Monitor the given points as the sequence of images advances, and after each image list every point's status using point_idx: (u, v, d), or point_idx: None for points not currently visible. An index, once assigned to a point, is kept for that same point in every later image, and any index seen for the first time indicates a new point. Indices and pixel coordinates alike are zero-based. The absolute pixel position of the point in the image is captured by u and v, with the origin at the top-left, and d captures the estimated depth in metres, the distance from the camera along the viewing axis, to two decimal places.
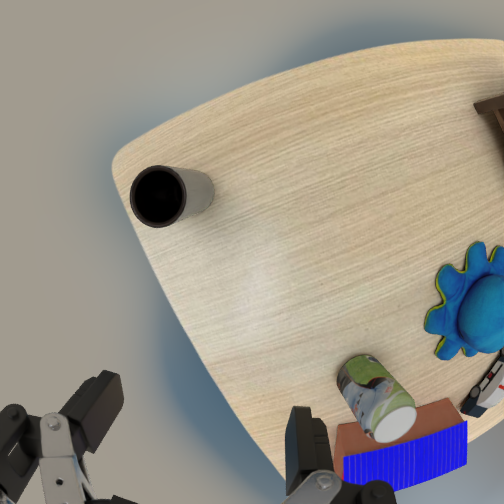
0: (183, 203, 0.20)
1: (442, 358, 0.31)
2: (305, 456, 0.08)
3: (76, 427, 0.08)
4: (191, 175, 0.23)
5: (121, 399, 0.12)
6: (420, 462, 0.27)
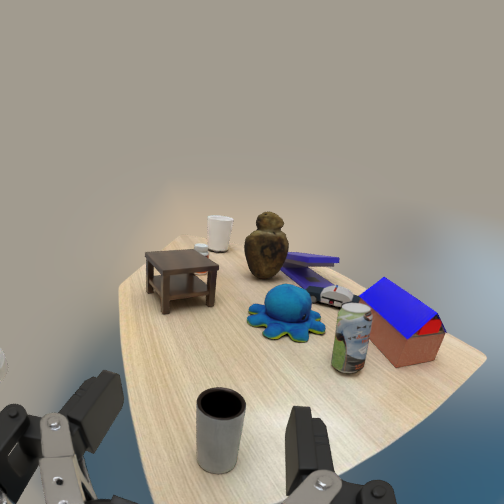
0: (227, 388, 0.26)
1: (323, 327, 0.59)
2: (305, 456, 0.08)
3: (76, 427, 0.08)
4: None
5: (121, 399, 0.12)
6: (392, 300, 0.56)
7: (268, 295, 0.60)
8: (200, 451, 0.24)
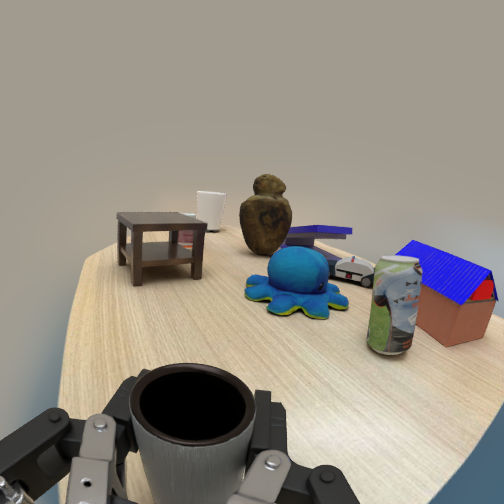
0: (210, 366, 0.11)
1: (346, 301, 0.44)
2: (258, 436, 0.09)
3: (122, 427, 0.09)
4: None
5: None
6: (429, 263, 0.42)
7: (272, 258, 0.45)
8: (156, 501, 0.09)
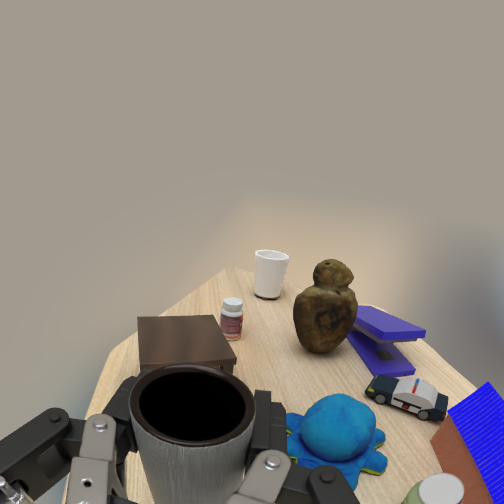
0: (210, 367, 0.11)
1: (384, 465, 0.27)
2: (258, 436, 0.09)
3: (122, 427, 0.09)
4: None
5: None
6: (493, 431, 0.21)
7: (307, 418, 0.31)
8: (156, 501, 0.09)
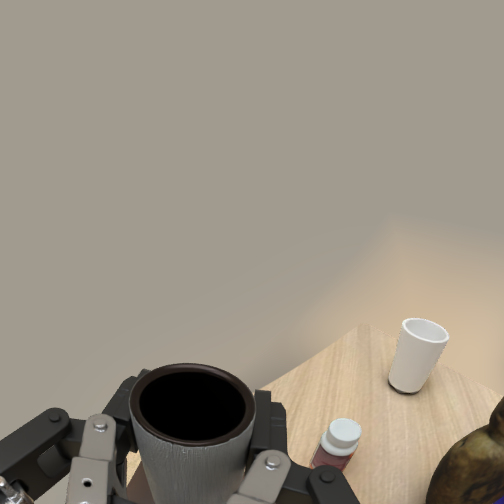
0: (210, 366, 0.11)
1: None
2: (258, 436, 0.09)
3: (122, 427, 0.09)
4: None
5: None
6: None
7: None
8: (156, 501, 0.09)
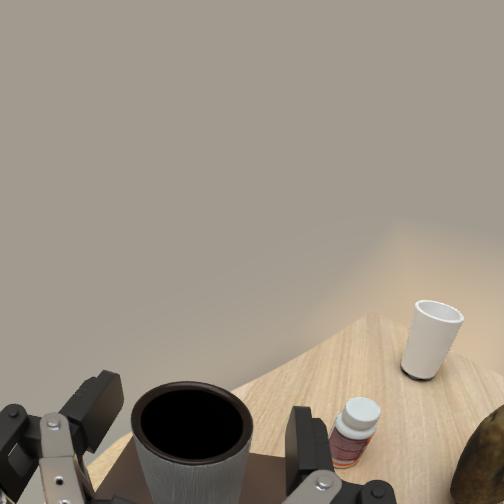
0: (209, 385, 0.11)
1: None
2: (305, 456, 0.08)
3: (76, 427, 0.08)
4: None
5: (121, 399, 0.12)
6: None
7: None
8: None
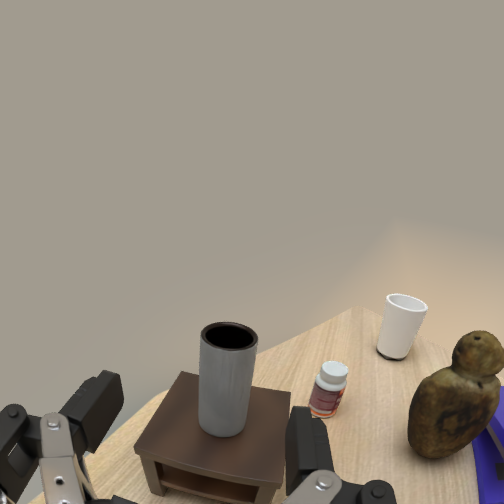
0: (236, 323, 0.24)
1: None
2: (305, 456, 0.08)
3: (76, 427, 0.08)
4: None
5: (121, 399, 0.12)
6: None
7: None
8: (203, 405, 0.22)
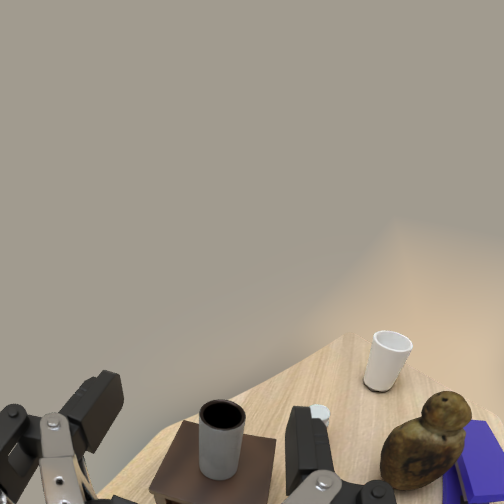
0: None
1: None
2: (305, 456, 0.08)
3: (76, 427, 0.08)
4: None
5: (121, 399, 0.12)
6: None
7: None
8: (203, 459, 0.25)
